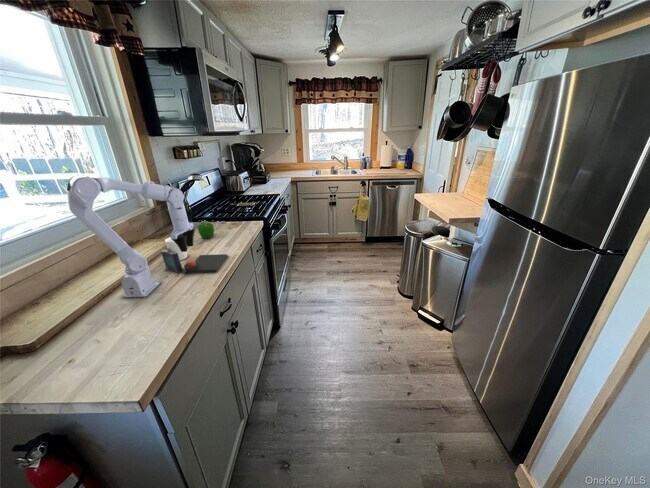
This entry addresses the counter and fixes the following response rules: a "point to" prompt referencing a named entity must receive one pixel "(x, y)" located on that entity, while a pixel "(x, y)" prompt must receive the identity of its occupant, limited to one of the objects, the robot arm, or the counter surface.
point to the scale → (206, 264)
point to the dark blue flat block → (171, 260)
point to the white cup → (175, 248)
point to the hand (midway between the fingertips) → (187, 248)
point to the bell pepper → (206, 230)
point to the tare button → (191, 262)
